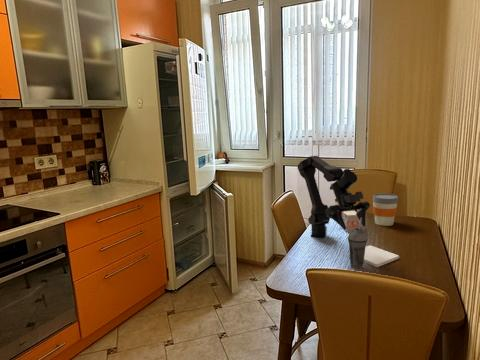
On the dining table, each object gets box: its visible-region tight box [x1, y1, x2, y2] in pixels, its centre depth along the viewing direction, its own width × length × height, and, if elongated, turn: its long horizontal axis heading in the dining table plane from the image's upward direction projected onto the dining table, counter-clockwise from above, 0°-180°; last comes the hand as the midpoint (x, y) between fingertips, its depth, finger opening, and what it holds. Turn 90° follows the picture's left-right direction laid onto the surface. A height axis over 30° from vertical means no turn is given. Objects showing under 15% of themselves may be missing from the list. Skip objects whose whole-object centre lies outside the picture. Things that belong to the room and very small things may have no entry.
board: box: [347, 245, 400, 268], centre depth 144 cm, size 14×14×1 cm
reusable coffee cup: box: [372, 193, 399, 227], centre depth 184 cm, size 13×13×15 cm
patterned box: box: [334, 201, 360, 234], centre depth 182 cm, size 21×6×12 cm, turn 0°
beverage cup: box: [347, 218, 368, 270], centre depth 133 cm, size 7×7×20 cm
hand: (355, 227), depth 141 cm, fingers open, 9 cm apart
